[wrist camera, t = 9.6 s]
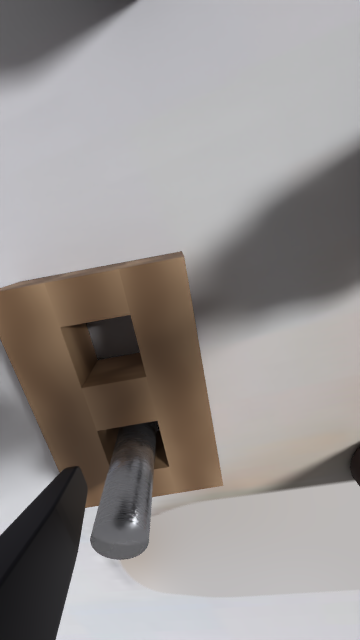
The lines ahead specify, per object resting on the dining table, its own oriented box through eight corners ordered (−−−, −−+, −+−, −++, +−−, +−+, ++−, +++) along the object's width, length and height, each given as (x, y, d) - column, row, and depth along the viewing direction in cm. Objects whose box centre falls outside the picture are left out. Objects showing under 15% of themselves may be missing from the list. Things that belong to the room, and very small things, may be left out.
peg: (154, 395, 22) (141, 516, 13) (161, 423, 23) (154, 554, 14) (120, 401, 22) (82, 525, 13) (128, 429, 23) (99, 563, 14)
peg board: (181, 251, 19) (184, 256, 15) (215, 446, 24) (223, 485, 21) (19, 282, 19) (-20, 294, 15) (90, 466, 25) (76, 509, 21)
